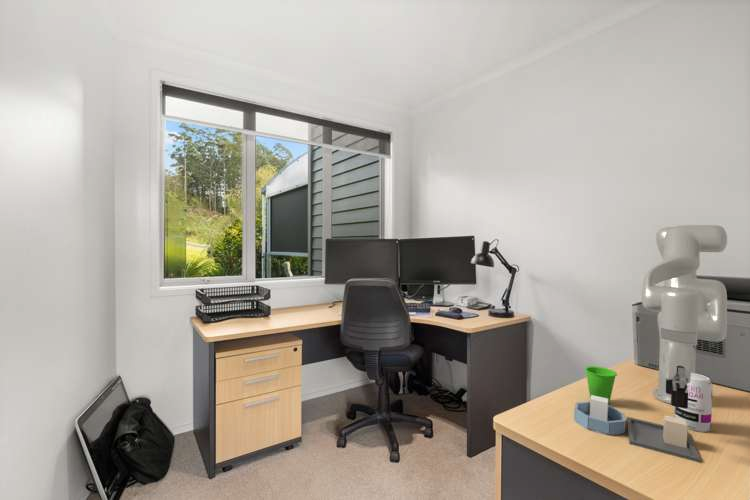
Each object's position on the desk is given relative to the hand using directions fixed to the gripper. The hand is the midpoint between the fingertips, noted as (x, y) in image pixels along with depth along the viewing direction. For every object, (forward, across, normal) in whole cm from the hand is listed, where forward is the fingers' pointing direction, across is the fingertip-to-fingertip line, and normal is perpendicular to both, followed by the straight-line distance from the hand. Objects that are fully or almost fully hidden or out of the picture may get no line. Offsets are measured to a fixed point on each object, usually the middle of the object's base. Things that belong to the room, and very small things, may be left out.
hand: (676, 400), depth 94 cm
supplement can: (+12, -16, +6) cm, 21 cm away
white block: (+11, -3, -17) cm, 21 cm away
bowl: (+12, -1, -17) cm, 21 cm away
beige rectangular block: (+12, -1, 0) cm, 12 cm away
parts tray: (+12, -1, -3) cm, 12 cm away
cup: (+12, -18, -17) cm, 27 cm away
